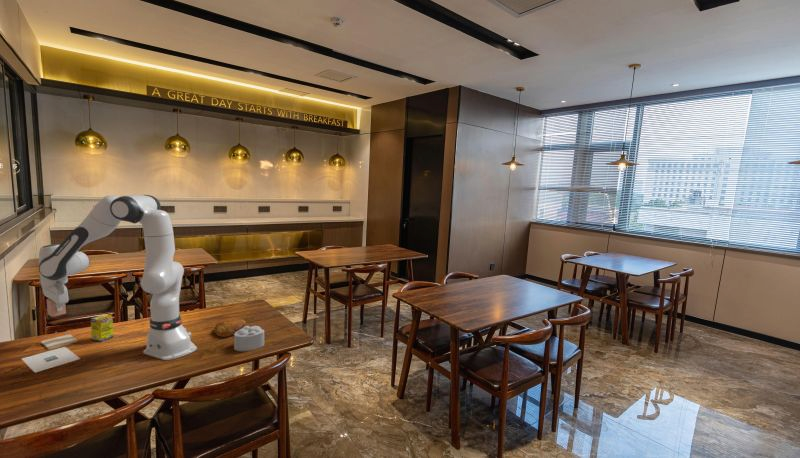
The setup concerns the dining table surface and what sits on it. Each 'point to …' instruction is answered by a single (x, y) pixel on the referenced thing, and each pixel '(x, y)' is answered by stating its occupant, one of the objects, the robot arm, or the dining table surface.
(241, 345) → the lumpy-topped squat cylinder
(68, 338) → the coaster
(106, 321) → the supplement box
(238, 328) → the croissant
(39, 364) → the mat
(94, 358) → the dining table surface
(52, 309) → the terracotta block
